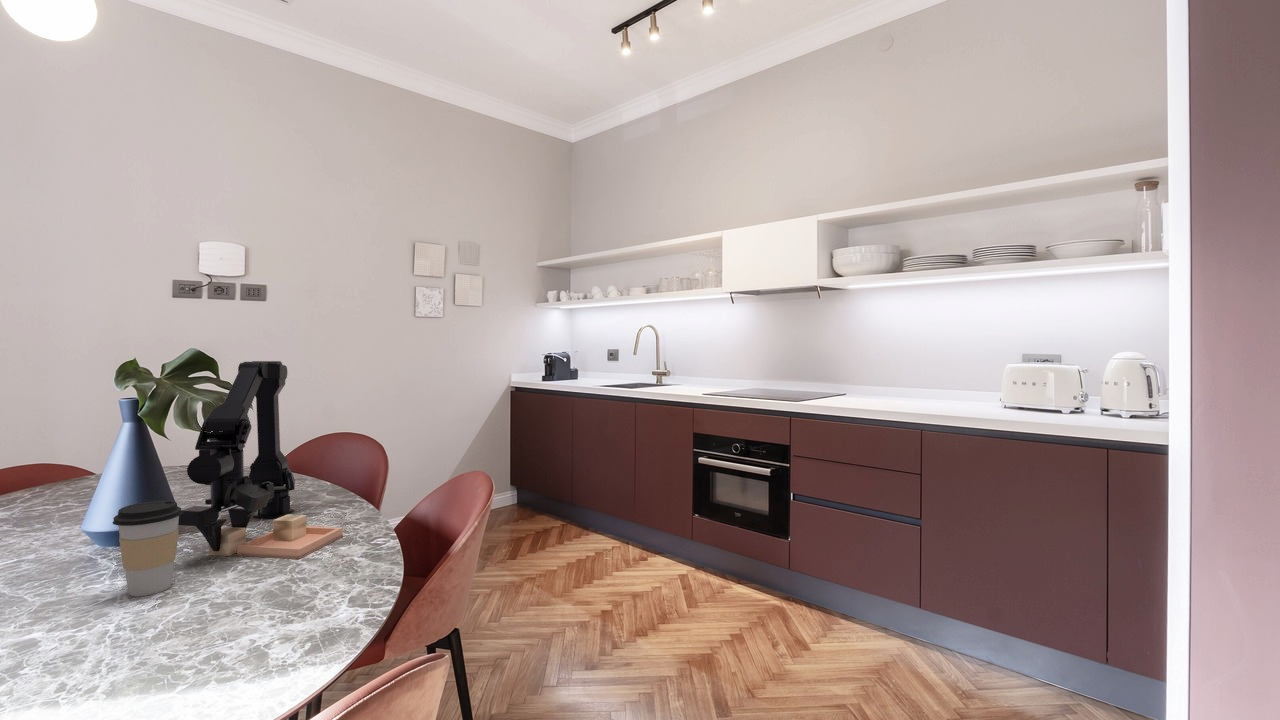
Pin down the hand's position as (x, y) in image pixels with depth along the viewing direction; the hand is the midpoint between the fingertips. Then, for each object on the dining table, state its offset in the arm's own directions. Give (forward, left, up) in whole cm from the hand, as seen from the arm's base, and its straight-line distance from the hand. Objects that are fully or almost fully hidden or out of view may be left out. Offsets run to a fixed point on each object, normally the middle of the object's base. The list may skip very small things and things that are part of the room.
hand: (227, 546), depth 121 cm
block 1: (0, 0, -1) cm, 1 cm away
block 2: (+8, +8, 0) cm, 11 cm away
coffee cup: (+2, -19, -1) cm, 19 cm away
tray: (+11, +5, -1) cm, 12 cm away
